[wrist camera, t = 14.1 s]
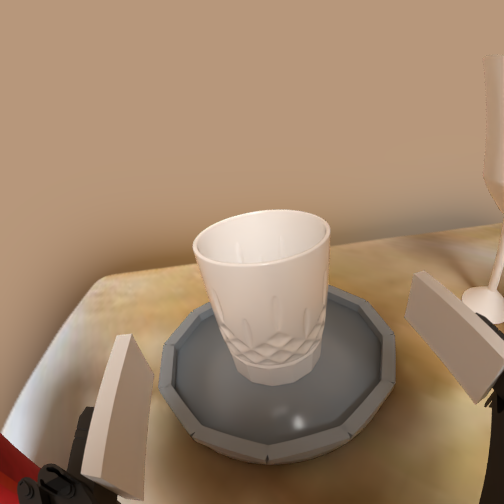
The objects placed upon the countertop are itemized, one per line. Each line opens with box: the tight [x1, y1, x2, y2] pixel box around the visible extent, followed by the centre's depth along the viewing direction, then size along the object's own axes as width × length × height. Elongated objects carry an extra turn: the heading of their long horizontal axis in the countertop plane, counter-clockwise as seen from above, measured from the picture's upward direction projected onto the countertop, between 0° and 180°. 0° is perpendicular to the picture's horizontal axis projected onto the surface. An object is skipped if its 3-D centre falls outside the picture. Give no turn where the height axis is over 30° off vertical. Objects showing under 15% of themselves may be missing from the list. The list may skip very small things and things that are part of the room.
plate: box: [158, 284, 396, 465], centre depth 20 cm, size 18×18×2 cm
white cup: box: [193, 210, 330, 386], centre depth 18 cm, size 8×8×10 cm
